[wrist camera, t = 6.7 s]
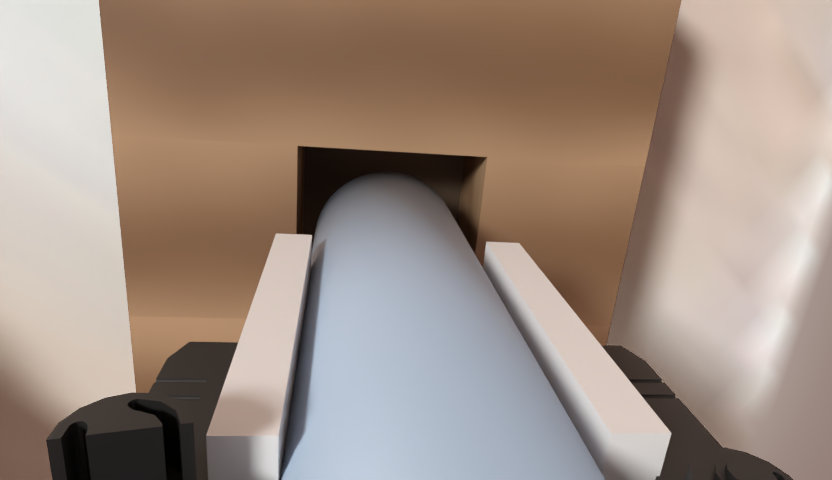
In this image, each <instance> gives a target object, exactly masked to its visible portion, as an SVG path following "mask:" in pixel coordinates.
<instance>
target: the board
mask: <svg viewBox="0 0 832 480" xmlns="http://www.w3.org/2000/svg"><path fill="white" fill-rule="evenodd" d="M680 4H681V0H99V7H100V17H101V28H102V38H103V49H104V59H105V70H106V80H107V91H108V101H109V112H110V122H111V133H112V143H113V153H114V164H115V174H116V185H117V195H118V206H119V216H120V227H121V237H122V248H123V258H124V269H125V279H126V290H127V300H128V310H129V321H130V331H131V342H132V352H133V363H134V373H135V384H136V393H149V391H150V389H151V387H152V385H153V384H154V382H156V378H157V376H158V374H159V373H160V371H161V369H162V367H163V365H164V363H165V362H166V360H167V358H168V357H170V356H171V355H172V354H174V353H175V352H176V351H178V350H179V349H180V348H182V347H183V346H184V345H186V344H187V343H188V342H239V339H240V336H241V333H242V330H243V327H244V325H245V322H246V319H247V316H248V313H249V310H250V307H251V304H252V301H253V299H254V296H255V293H256V290H257V287H258V284H259V281H260V278H261V275H262V272H263V270H264V267H265V264H266V261H267V258H268V255H269V252H270V249H271V246H272V243H273V241H274V238H275V235H276V233H277V234H302V235H312V248H313V242H314V235H315V229H316V225H317V221H318V218H319V215H320V213H321V211H322V209H323V207H324V205H325V204H326V202H327V201H328V200H329V198H330V197H331V196H332V195H333V194H334V193H335V192H336V191H337V190H338V189H339V188H340V187H342V186H343V185H344V184H346V183H348V182H349V181H351V180H353V179H355V178H357V177H360V176H362V175H366V174H369V173H375V172H398V173H403V174H407V175H410V176H413V177H415V178H418V179H419V180H421V181H423V182H425V183H426V184H428V185H429V186H430V187H432V188H433V189H434V190H435V191H436V192H437V193H438V194H439V195H440V196H441V198H442V199H443V200H444V202H445V203H446V205H447V207H448V209H449V210H450V212H451V214H452V216H453V217H454V219H455V221H456V222H457V224H458V226H459V228H460V229H461V231H462V233H463V235H464V236H465V238H466V240H467V241H468V243H469V245H470V247H471V248H472V250H473V252H474V254H475V255H476V257H477V259H478V260H479V262H480V264H481V266H482V267H483V263H484V255H485V247H486V242H508V243H520V245H521V246H522V247H523V248H524V250H525V251H526V252H527V253H528V255H529V256H530V257H531V258H532V260H533V261H534V262H535V263H536V265H537V266H538V267H539V268H540V270H541V271H542V272H543V273H544V275H545V276H546V277H547V278H548V280H549V281H550V282H551V283H552V285H553V286H554V287H555V288H556V290H557V291H558V292H559V293H560V295H561V296H562V297H563V298H564V300H565V301H566V302H567V303H568V305H569V306H570V307H571V308H572V310H573V311H574V312H575V313H576V315H577V316H578V317H579V318H580V320H581V321H582V322H583V323H584V325H585V326H586V327H587V328H588V330H589V331H590V332H591V333H592V335H593V336H594V337H595V338H596V340H597V341H598V342H599V343H600V345H601V346H606V343H607V339H608V334H609V329H610V325H611V320H612V316H613V311H614V306H615V302H616V297H617V293H618V288H619V284H620V279H621V274H622V270H623V265H624V261H625V256H626V251H627V247H628V242H629V238H630V233H631V229H632V224H633V219H634V215H635V210H636V206H637V201H638V196H639V192H640V187H641V183H642V178H643V174H644V169H645V164H646V160H647V155H648V151H649V146H650V141H651V137H652V132H653V128H654V123H655V119H656V114H657V109H658V105H659V100H660V96H661V91H662V86H663V82H664V77H665V73H666V68H667V64H668V59H669V54H670V50H671V45H672V41H673V36H674V31H675V27H676V22H677V18H678V13H679V9H680Z"/></svg>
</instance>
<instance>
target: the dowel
mask: <svg viewBox="0 0 832 480" xmlns="http://www.w3.org/2000/svg"><path fill="white" fill-rule="evenodd" d="M280 480H605V478H604V476H603V475H602V473H601V471H600V470H599V468H598V466H597V464H596V463H595V461H594V459H593V457H592V456H591V454H590V452H589V451H588V449H587V447H586V445H585V444H584V442H583V440H582V438H581V437H580V435H579V433H578V432H577V430H576V428H575V426H574V425H573V423H572V421H571V419H570V418H569V416H568V414H567V413H566V411H565V409H564V407H563V406H562V404H561V402H560V400H559V399H558V397H557V395H556V394H555V392H554V390H553V388H552V387H551V385H550V383H549V381H548V380H547V378H546V376H545V375H544V373H543V371H542V369H541V368H540V366H539V364H538V362H537V361H536V359H535V357H534V356H533V354H532V352H531V350H530V349H529V347H528V345H527V343H526V342H525V340H524V338H523V337H522V335H521V333H520V331H519V330H518V328H517V326H516V324H515V323H514V321H513V319H512V318H511V316H510V314H509V312H508V311H507V309H506V307H505V305H504V304H503V302H502V300H501V298H500V297H499V295H498V293H497V292H496V290H495V288H494V286H493V285H492V283H491V281H490V279H489V278H488V276H487V274H486V273H485V271H484V269H483V267H482V266H481V264H480V262H479V260H478V259H477V257H476V255H475V254H474V252H473V250H472V248H471V247H470V245H469V243H468V241H467V240H466V238H465V236H464V235H463V233H462V231H461V229H460V228H459V226H458V224H457V222H456V221H455V219H454V217H453V216H452V214H451V212H450V210H449V209H448V207H447V205H446V203H445V202H444V200H443V199H442V198H441V196H440V195H439V194H438V193H437V192H436V191H435V190H434V189H433V188H432V187H430V186H429V185H428V184H426V183H425V182H423V181H421V180H419V179H418V178H415V177H413V176H410V175H407V174H403V173H398V172H375V173H369V174H366V175H362V176H360V177H357V178H355V179H353V180H351V181H349V182H348V183H346V184H344V185H343V186H342V187H340V188H339V189H338V190H337V191H336V192H335V193H334V194H333V195H332V196H331V197H330V198H329V200H328V201H327V202H326V204H325V205H324V207H323V209H322V211H321V213H320V215H319V218H318V221H317V225H316V229H315V235H314V242H313V248H312V261H311V274H310V280H309V287H308V294H307V300H306V307H305V314H304V321H303V327H302V334H301V341H300V347H299V354H298V361H297V367H296V374H295V381H294V387H293V394H292V401H291V407H290V414H289V421H288V427H287V434H286V441H285V448H284V454H283V461H282V468H281V474H280Z"/></svg>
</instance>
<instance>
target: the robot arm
mask: <svg viewBox="0 0 832 480" xmlns="http://www.w3.org/2000/svg"><path fill="white" fill-rule="evenodd" d="M311 261H312V235H302V234H277V233H276V235H275V238H274V241H273V243H272V246H271V249H270V252H269V255H268V258H267V261H266V264H265V267H264V270H263V272H262V275H261V278H260V281H259V284H258V287H257V290H256V293H255V296H254V299H253V301H252V304H251V307H250V310H249V313H248V316H247V319H246V322H245V325H244V327H243V330H242V333H241V336H240V339H239V342H188V343H187V344H186V345H184V346H183V347H182V348H180V349H179V350H178V351H176V352H175V353H174V354H172V355H171V356H170V357H168V358H167V360H166V362H165V363H164V365H163V367H162V369H161V371H160V373H159V374H158V376H157V378H156V382H154V384H153V385H152V387H151V389H150V391H149V393H128V394H123V395H118V396H113V397H108V398H104V399H101V400H99V401H97V402H94V403H92V404H89V405H87V406H84V407H82V408H79V409H78V410H77V411H75V412H74V413H72V414H71V415H69V416H68V417H67V418H65V419H64V420H62V421H61V422H59V423H58V425H57V426H56V427H55V429H54V430H53V432H52V433H51V434H50V436H49V437H48V438H47V440H46V441H47V447H48V453H49V460H50V466H51V472H52V478H53V480H280V474H281V468H282V461H283V454H284V448H285V441H286V434H287V427H288V421H289V414H290V407H291V401H292V394H293V387H294V381H295V374H296V367H297V361H298V354H299V347H300V341H301V334H302V327H303V321H304V314H305V307H306V300H307V294H308V287H309V280H310V274H311ZM483 269H484V271H485V273H486V274H487V276H488V278H489V279H490V281H491V283H492V285H493V286H494V288H495V290H496V292H497V293H498V295H499V297H500V298H501V300H502V302H503V304H504V305H505V307H506V309H507V311H508V312H509V314H510V316H511V318H512V319H513V321H514V323H515V324H516V326H517V328H518V330H519V331H520V333H521V335H522V337H523V338H524V340H525V342H526V343H527V345H528V347H529V349H530V350H531V352H532V354H533V356H534V357H535V359H536V361H537V362H538V364H539V366H540V368H541V369H542V371H543V373H544V375H545V376H546V378H547V380H548V381H549V383H550V385H551V387H552V388H553V390H554V392H555V394H556V395H557V397H558V399H559V400H560V402H561V404H562V406H563V407H564V409H565V411H566V413H567V414H568V416H569V418H570V419H571V421H572V423H573V425H574V426H575V428H576V430H577V432H578V433H579V435H580V437H581V438H582V440H583V442H584V444H585V445H586V447H587V449H588V451H589V452H590V454H591V456H592V457H593V459H594V461H595V463H596V464H597V466H598V468H599V470H600V471H601V473H602V475H603V476H604V478H605V480H793V479H792V478H791V477H790V476H789V475H787V474H786V473H784V472H783V471H781V470H780V469H778V468H777V467H775V466H774V465H772V464H771V463H769V462H767V461H765V460H762V459H760V458H758V457H755V456H753V455H751V454H748V453H746V452H742V451H737V450H733V449H728V448H722V446H721V445H720V444H719V443H718V442H717V441H716V440H715V439H714V438H713V436H712V435H711V434H710V433H709V432H708V431H707V430H706V429H705V427H704V426H703V425H702V424H701V423H700V422H699V421H698V420H697V419H696V417H695V416H694V415H693V414H692V413H691V412H690V411H689V410H688V408H687V407H686V406H685V405H684V404H683V403H682V402H681V401H680V400H679V399H676V398H675V394H674V393H673V392H672V391H671V389H670V388H669V387H668V386H667V385H666V384H665V383H662V382H661V380H662V379H661V378H660V377H659V376H658V375H657V374H656V373H655V372H654V370H653V369H652V368H651V367H650V366H649V365H648V364H647V363H646V362H645V361H644V360H642V359H641V358H639V357H638V356H636V355H634V354H633V353H631V352H630V351H628V350H627V349H625V348H623V347H622V346H601V345H600V343H599V342H598V341H597V340H596V338H595V337H594V336H593V335H592V333H591V332H590V331H589V330H588V328H587V327H586V326H585V325H584V323H583V322H582V321H581V320H580V318H579V317H578V316H577V315H576V313H575V312H574V311H573V310H572V308H571V307H570V306H569V305H568V303H567V302H566V301H565V300H564V298H563V297H562V296H561V295H560V293H559V292H558V291H557V290H556V288H555V287H554V286H553V285H552V283H551V282H550V281H549V280H548V278H547V277H546V276H545V275H544V273H543V272H542V271H541V270H540V268H539V267H538V266H537V265H536V263H535V262H534V261H533V260H532V258H531V257H530V256H529V255H528V253H527V252H526V251H525V250H524V248H523V247H522V246H521V245H520V243H508V242H486V247H485V255H484V263H483Z"/></svg>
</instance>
